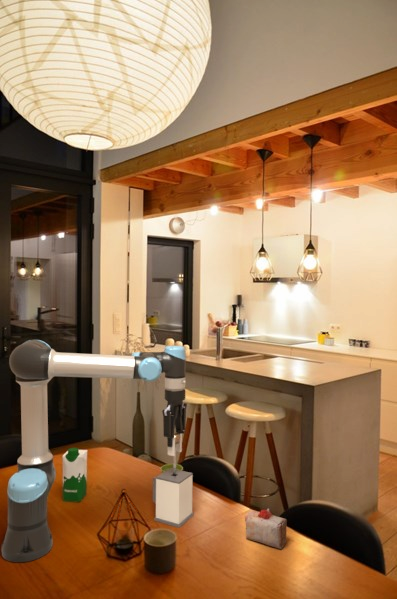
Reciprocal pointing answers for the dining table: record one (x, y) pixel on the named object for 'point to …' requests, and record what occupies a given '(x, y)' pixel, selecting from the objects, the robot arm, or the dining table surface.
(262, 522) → the food item
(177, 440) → the plunger
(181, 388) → the robot arm
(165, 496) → the tall white box
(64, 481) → the milk carton
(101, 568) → the dining table surface
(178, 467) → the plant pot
